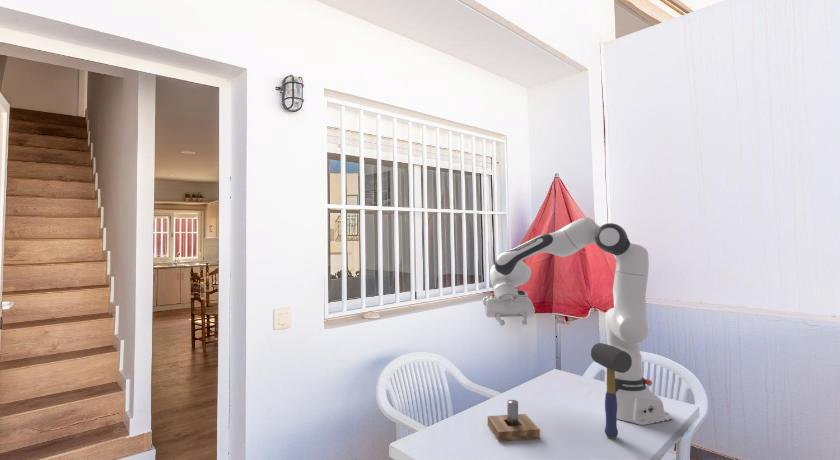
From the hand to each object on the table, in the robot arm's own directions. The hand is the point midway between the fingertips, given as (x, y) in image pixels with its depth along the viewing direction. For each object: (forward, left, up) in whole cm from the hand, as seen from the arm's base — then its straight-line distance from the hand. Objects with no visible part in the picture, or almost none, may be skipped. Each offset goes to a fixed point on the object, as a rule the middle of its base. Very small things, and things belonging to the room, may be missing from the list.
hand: (514, 324), depth 163 cm
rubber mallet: (-22, +30, -32) cm, 49 cm away
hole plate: (+9, +22, -31) cm, 40 cm away
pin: (+9, +22, -31) cm, 40 cm away
